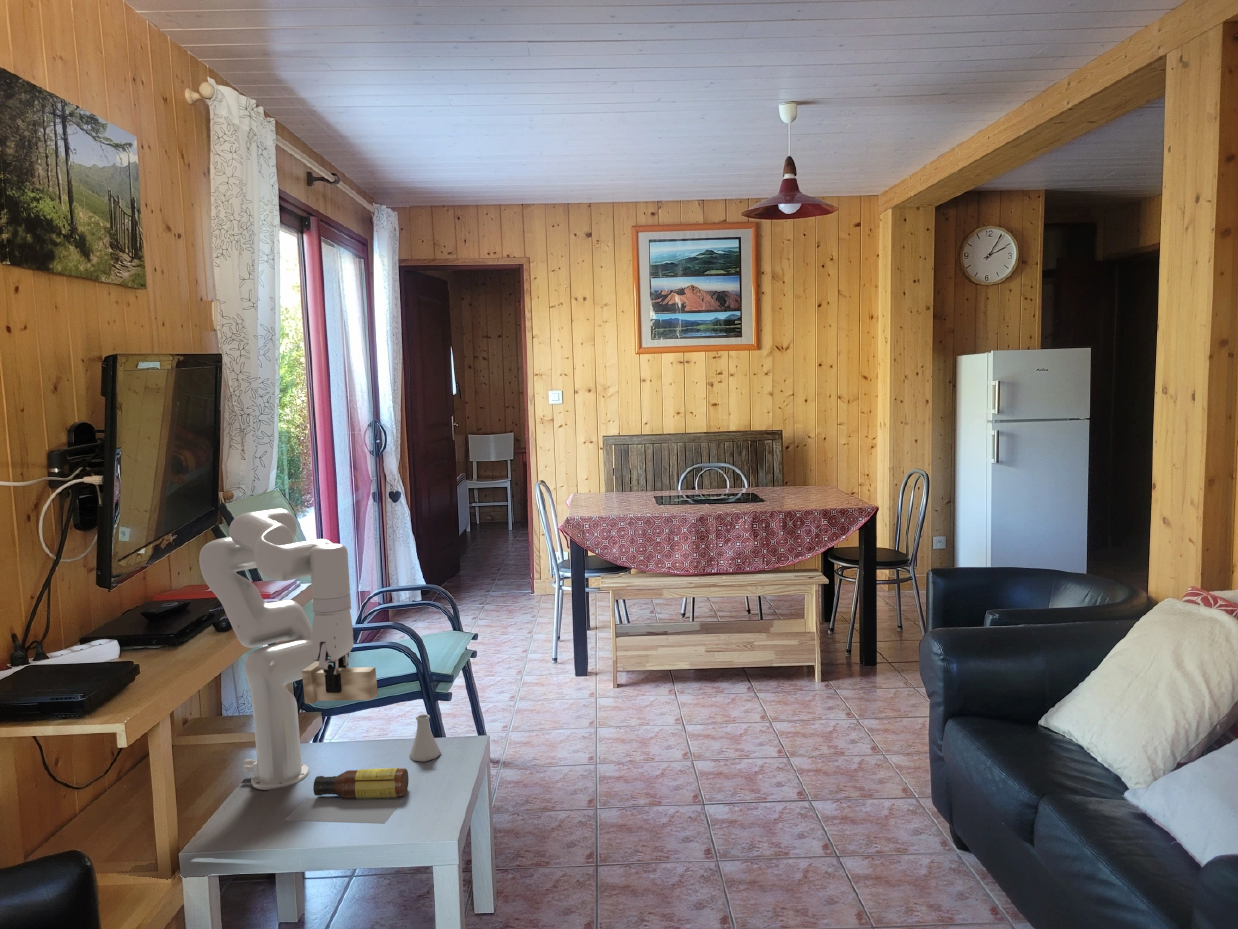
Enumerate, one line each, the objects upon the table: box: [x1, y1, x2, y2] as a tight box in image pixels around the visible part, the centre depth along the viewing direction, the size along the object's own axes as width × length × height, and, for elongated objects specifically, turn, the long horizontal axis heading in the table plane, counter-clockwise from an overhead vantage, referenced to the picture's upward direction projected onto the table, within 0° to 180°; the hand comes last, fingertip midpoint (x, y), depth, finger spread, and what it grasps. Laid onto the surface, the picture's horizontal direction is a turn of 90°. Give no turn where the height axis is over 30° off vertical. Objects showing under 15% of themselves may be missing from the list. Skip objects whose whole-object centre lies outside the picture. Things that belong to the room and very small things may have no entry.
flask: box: [408, 713, 442, 763], centre depth 212 cm, size 7×7×10 cm
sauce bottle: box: [312, 767, 409, 800], centre depth 192 cm, size 7×6×20 cm
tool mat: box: [284, 797, 404, 824], centre depth 185 cm, size 22×10×1 cm, turn 82°
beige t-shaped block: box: [302, 661, 379, 704], centre depth 183 cm, size 14×6×7 cm, turn 82°
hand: (337, 688), depth 183 cm, fingers closed on beige t-shaped block, 2 cm apart
